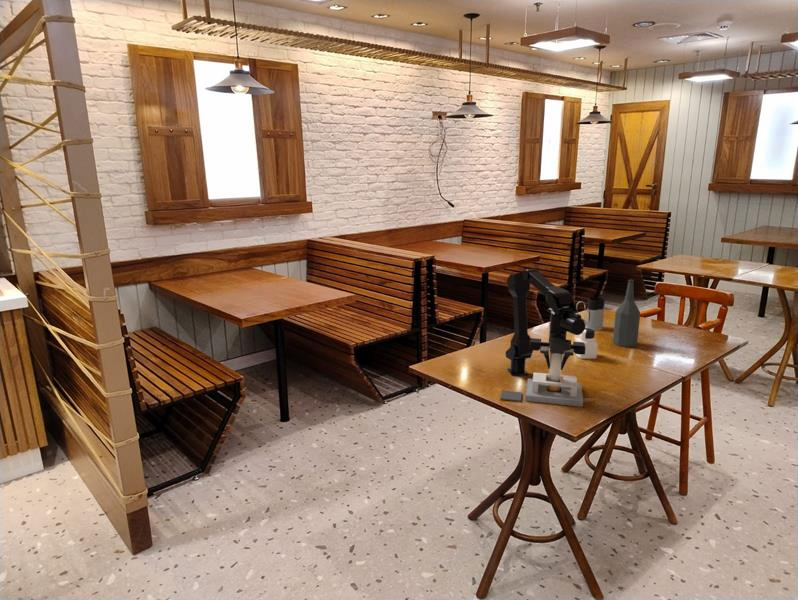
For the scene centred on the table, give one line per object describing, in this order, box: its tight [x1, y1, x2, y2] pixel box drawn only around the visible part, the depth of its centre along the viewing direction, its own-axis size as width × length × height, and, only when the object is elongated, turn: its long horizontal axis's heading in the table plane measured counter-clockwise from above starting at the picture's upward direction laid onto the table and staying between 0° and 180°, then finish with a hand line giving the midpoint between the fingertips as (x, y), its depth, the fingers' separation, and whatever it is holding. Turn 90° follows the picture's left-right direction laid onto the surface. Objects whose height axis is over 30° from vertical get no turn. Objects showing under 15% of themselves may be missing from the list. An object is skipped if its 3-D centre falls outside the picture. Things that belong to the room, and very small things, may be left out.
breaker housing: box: [525, 372, 584, 408], centre depth 195 cm, size 16×19×6 cm
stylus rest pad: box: [500, 390, 523, 403], centre depth 194 cm, size 7×7×1 cm
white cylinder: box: [548, 353, 563, 382], centre depth 193 cm, size 4×4×11 cm
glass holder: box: [575, 296, 606, 331], centre depth 273 cm, size 9×14×15 cm, turn 91°
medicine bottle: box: [574, 328, 599, 360], centre depth 233 cm, size 7×7×12 cm
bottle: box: [612, 279, 641, 348], centre depth 246 cm, size 10×10×30 cm
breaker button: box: [548, 381, 561, 392], centre depth 195 cm, size 4×4×2 cm
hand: (555, 369), depth 193 cm, fingers closed on white cylinder, 4 cm apart
